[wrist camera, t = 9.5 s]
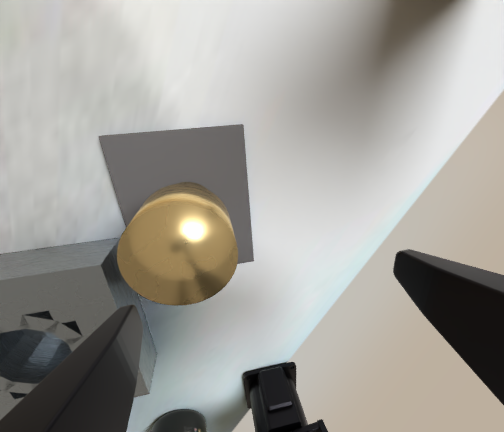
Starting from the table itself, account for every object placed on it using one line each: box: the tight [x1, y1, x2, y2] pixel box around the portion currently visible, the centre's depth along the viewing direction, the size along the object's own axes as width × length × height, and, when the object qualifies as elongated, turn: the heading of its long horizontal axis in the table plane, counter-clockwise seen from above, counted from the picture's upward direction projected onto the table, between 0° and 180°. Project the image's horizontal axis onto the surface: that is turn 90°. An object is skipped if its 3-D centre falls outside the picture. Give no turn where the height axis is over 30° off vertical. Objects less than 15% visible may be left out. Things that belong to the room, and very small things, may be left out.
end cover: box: [117, 182, 238, 305], centre depth 16 cm, size 6×6×8 cm
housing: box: [0, 238, 157, 420], centre depth 20 cm, size 14×14×4 cm
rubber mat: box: [99, 124, 254, 264], centre depth 20 cm, size 12×10×1 cm
